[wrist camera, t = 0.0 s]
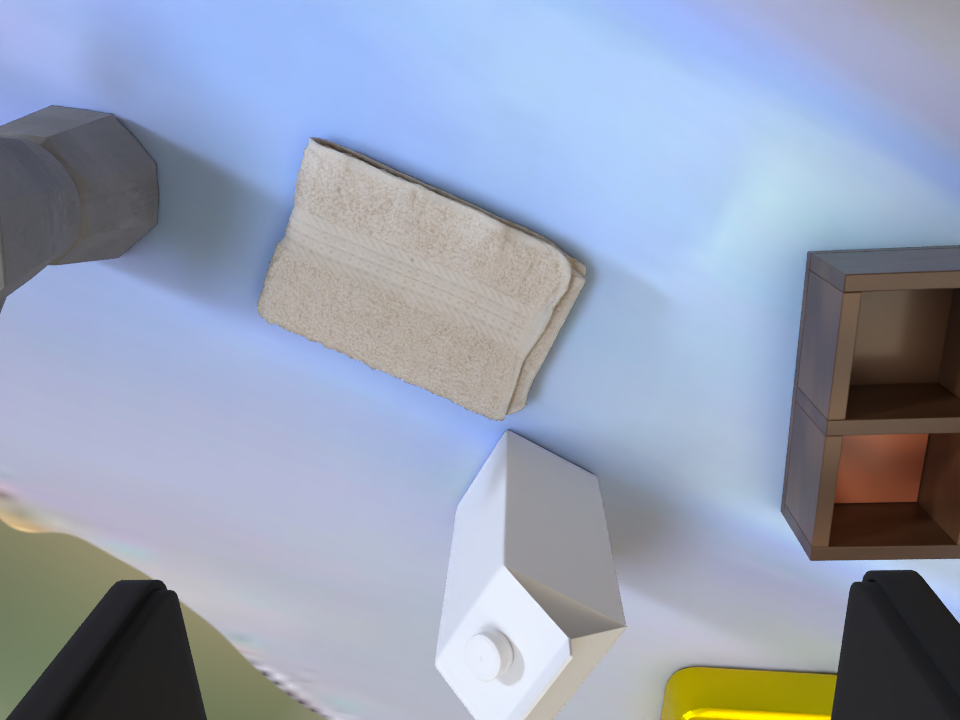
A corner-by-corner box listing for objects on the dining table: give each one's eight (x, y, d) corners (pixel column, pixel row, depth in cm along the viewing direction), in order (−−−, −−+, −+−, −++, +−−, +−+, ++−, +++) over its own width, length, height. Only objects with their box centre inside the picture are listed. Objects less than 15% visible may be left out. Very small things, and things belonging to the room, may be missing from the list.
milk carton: (598, 474, 51) (640, 689, 33) (544, 550, 53) (556, 789, 35) (506, 427, 50) (500, 621, 32) (456, 506, 52) (423, 728, 34)
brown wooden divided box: (807, 251, 45) (845, 274, 40) (972, 244, 44) (1033, 267, 39) (780, 511, 51) (810, 561, 46) (924, 508, 51) (971, 559, 45)
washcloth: (515, 415, 50) (515, 436, 47) (257, 310, 48) (241, 325, 45) (595, 252, 45) (600, 264, 43) (316, 131, 44) (301, 135, 41)
